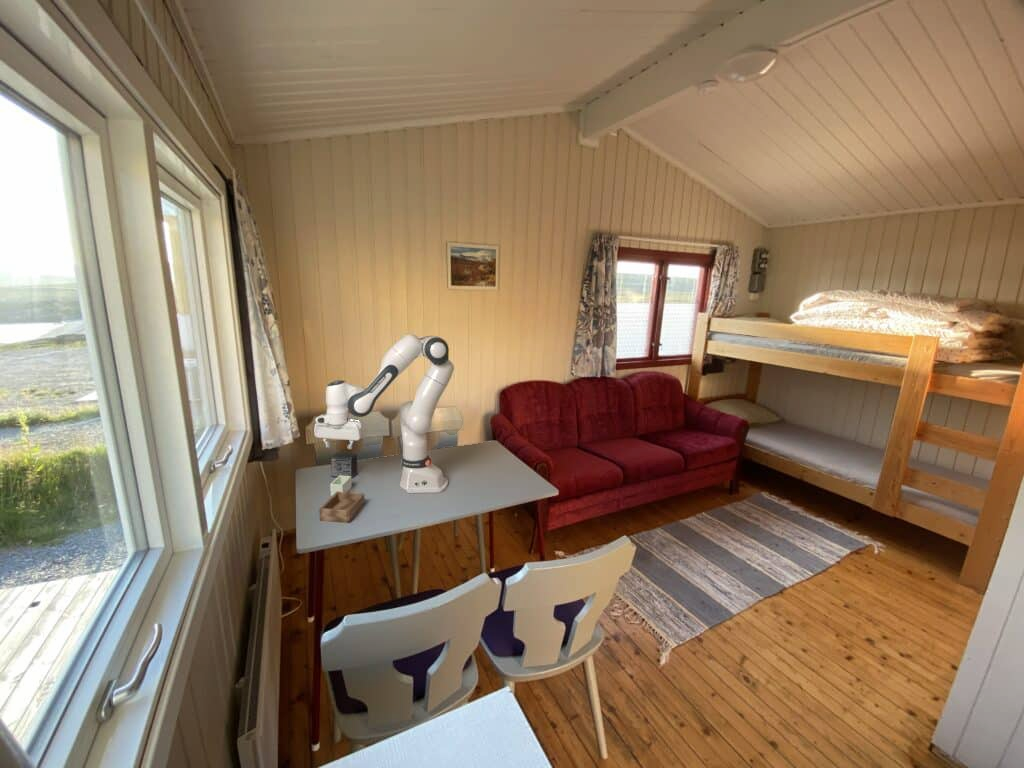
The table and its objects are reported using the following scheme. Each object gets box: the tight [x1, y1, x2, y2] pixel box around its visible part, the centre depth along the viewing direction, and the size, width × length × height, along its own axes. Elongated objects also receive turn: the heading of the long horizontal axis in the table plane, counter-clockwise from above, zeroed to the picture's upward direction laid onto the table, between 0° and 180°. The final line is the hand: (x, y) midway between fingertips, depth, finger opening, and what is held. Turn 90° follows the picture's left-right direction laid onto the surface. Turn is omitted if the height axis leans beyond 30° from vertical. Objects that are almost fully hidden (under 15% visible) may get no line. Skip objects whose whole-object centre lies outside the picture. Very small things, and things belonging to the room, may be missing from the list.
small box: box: [330, 452, 358, 480], centre depth 208 cm, size 11×6×10 cm, turn 84°
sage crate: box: [329, 475, 353, 498], centre depth 192 cm, size 6×9×6 cm, turn 177°
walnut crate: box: [318, 491, 365, 524], centre depth 176 cm, size 12×15×5 cm
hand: (339, 448), depth 188 cm, fingers open, 8 cm apart
